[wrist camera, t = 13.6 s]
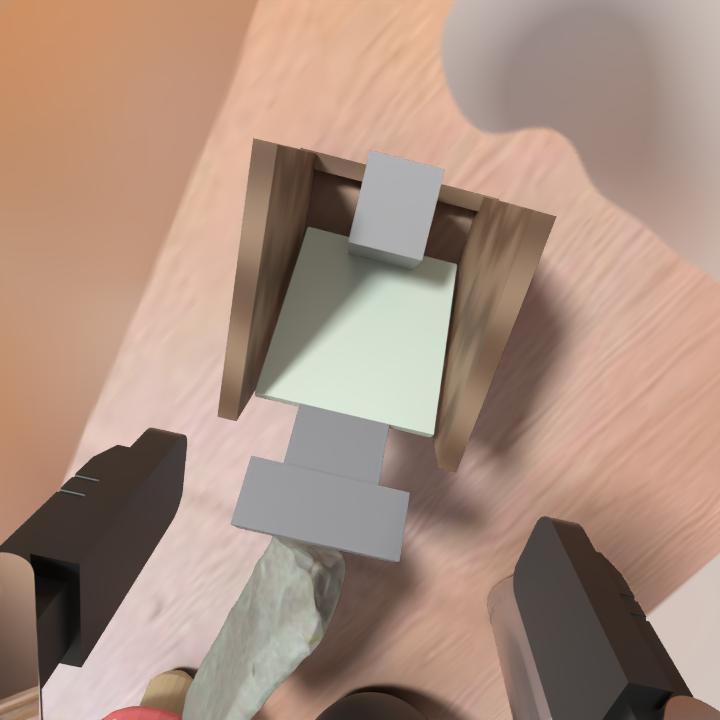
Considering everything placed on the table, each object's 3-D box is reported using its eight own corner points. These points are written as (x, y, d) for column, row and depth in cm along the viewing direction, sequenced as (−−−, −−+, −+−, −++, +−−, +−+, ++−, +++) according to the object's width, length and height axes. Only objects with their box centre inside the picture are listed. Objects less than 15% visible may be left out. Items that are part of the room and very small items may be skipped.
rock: (306, 445, 45) (250, 634, 27) (360, 472, 46) (343, 673, 28) (210, 606, 55) (121, 825, 37) (256, 625, 56) (193, 849, 38)
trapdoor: (401, 564, 30) (416, 565, 26) (223, 524, 30) (213, 520, 26) (442, 290, 39) (457, 263, 36) (306, 256, 39) (307, 225, 35)
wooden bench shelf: (435, 378, 42) (456, 472, 29) (271, 339, 41) (217, 416, 28) (495, 198, 35) (557, 214, 23) (303, 148, 35) (253, 136, 22)
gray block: (411, 269, 35) (431, 192, 34) (422, 260, 30) (444, 169, 29) (348, 254, 35) (367, 175, 34) (348, 241, 30) (370, 150, 29)
